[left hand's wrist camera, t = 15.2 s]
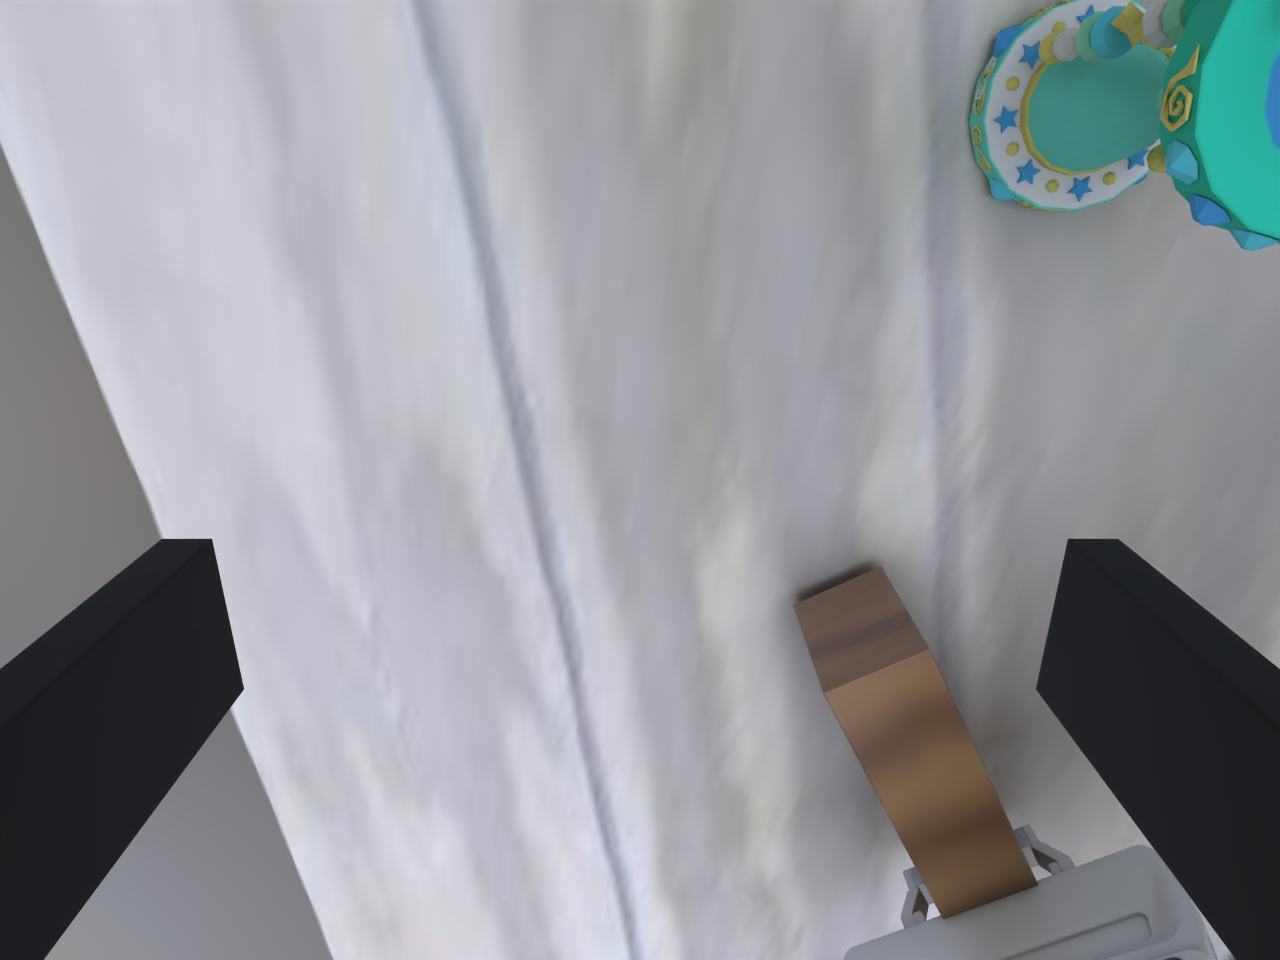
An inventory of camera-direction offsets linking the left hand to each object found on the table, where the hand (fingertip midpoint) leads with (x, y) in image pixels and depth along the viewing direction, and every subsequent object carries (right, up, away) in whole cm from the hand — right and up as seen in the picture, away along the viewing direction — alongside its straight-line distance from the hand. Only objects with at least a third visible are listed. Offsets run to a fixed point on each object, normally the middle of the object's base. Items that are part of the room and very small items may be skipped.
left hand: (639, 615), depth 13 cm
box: (+18, -15, +43) cm, 49 cm away
